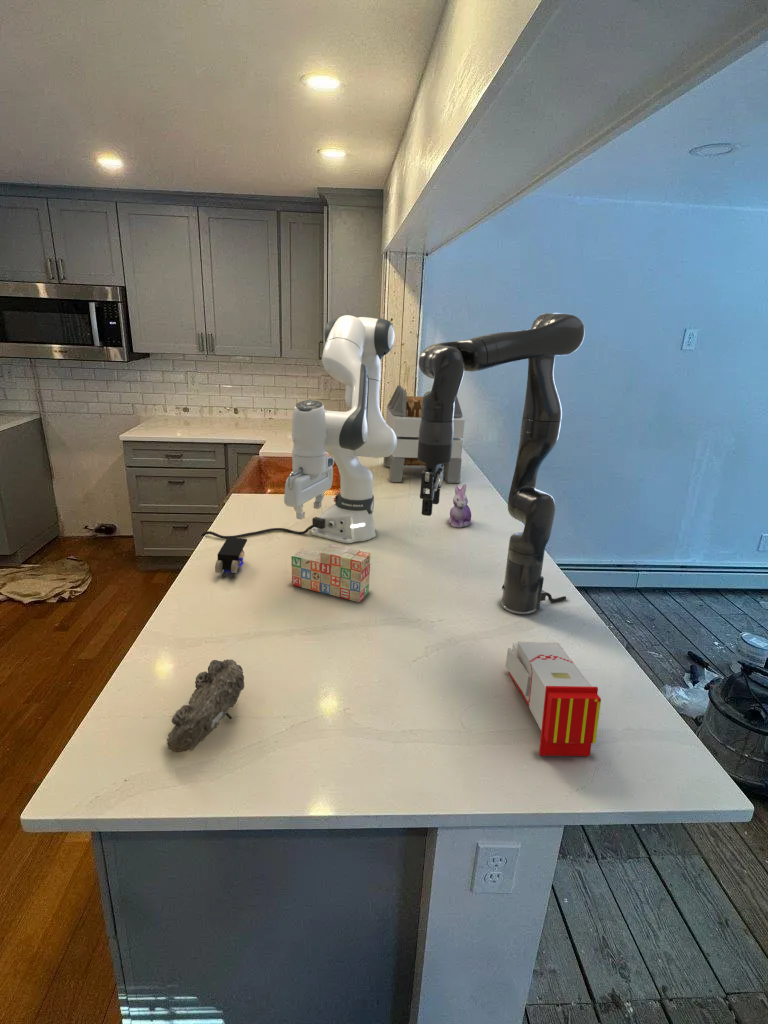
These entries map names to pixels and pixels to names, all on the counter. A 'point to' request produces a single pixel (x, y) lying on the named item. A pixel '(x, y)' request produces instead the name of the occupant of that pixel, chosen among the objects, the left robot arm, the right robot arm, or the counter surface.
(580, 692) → the toy
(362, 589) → the stack of blocks
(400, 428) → the grey storage crate
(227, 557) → the black wheeled block
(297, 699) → the counter surface
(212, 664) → the fossil
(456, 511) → the figurine
